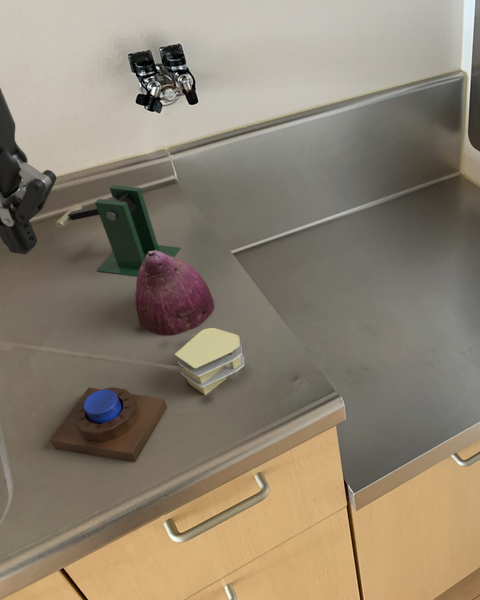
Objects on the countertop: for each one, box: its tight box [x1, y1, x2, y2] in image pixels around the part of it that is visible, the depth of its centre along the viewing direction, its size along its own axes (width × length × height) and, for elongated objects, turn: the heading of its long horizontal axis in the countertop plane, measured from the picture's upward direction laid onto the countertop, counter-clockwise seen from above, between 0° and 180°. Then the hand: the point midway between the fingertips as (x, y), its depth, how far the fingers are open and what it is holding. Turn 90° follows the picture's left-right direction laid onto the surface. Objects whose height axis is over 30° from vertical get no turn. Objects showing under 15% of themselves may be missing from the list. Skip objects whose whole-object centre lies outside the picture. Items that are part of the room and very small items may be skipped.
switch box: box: [50, 386, 168, 463], centre depth 72 cm, size 10×8×4 cm
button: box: [84, 390, 121, 423], centre depth 70 cm, size 4×4×2 cm
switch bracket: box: [94, 184, 182, 278], centre depth 93 cm, size 10×8×13 cm
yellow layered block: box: [174, 327, 245, 396], centre depth 78 cm, size 10×9×6 cm
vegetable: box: [134, 250, 215, 336], centre depth 83 cm, size 10×10×15 cm
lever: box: [55, 193, 137, 230], centre depth 91 cm, size 12×5×2 cm, turn 80°
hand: (24, 248), depth 64 cm, fingers closed
